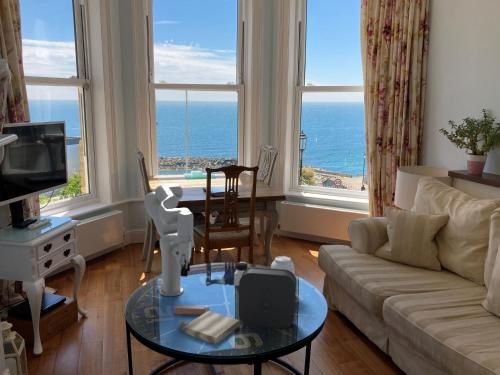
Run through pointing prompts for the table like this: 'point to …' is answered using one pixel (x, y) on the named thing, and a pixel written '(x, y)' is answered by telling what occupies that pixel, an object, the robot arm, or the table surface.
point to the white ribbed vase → (283, 264)
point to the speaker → (267, 297)
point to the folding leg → (191, 310)
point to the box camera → (239, 272)
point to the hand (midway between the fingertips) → (185, 273)
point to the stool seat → (210, 327)
